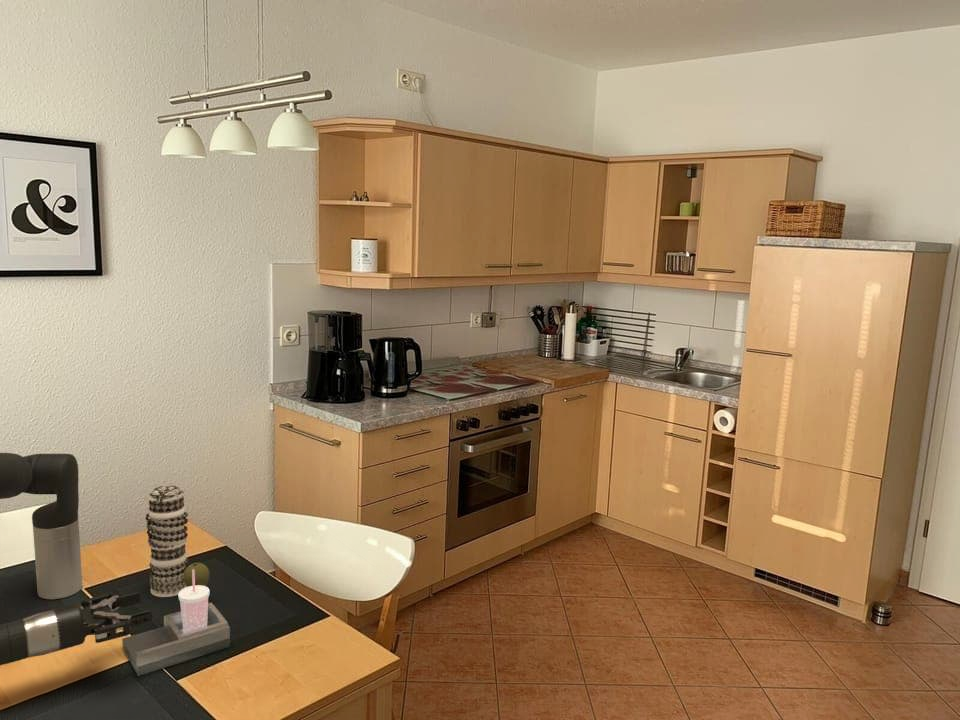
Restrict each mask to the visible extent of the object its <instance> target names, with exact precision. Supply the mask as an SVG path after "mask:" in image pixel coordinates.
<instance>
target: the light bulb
mask: <svg viewBox="0 0 960 720" xmlns="http://www.w3.org/2000/svg"><path fill="white" fill-rule="evenodd" d="M192 569H194V570H195V585H201V586H206V587H207V584H208V582H209V580H210V569H209V568H208V566H206V565H205V564H204V563H202V562H194V563H191V564H189V565H188V567H187V568H186V570H185V572H184V575H183V579H184V582H185V584H186V586H187V587H189V586H193V583H192Z"/></svg>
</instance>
